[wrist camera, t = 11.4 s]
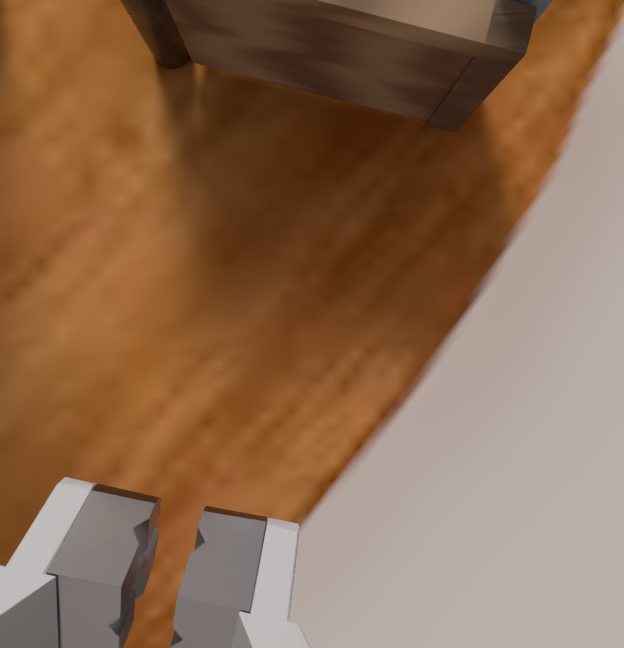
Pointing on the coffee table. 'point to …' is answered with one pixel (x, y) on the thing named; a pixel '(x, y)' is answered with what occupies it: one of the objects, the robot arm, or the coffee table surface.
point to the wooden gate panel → (366, 48)
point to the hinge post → (158, 31)
